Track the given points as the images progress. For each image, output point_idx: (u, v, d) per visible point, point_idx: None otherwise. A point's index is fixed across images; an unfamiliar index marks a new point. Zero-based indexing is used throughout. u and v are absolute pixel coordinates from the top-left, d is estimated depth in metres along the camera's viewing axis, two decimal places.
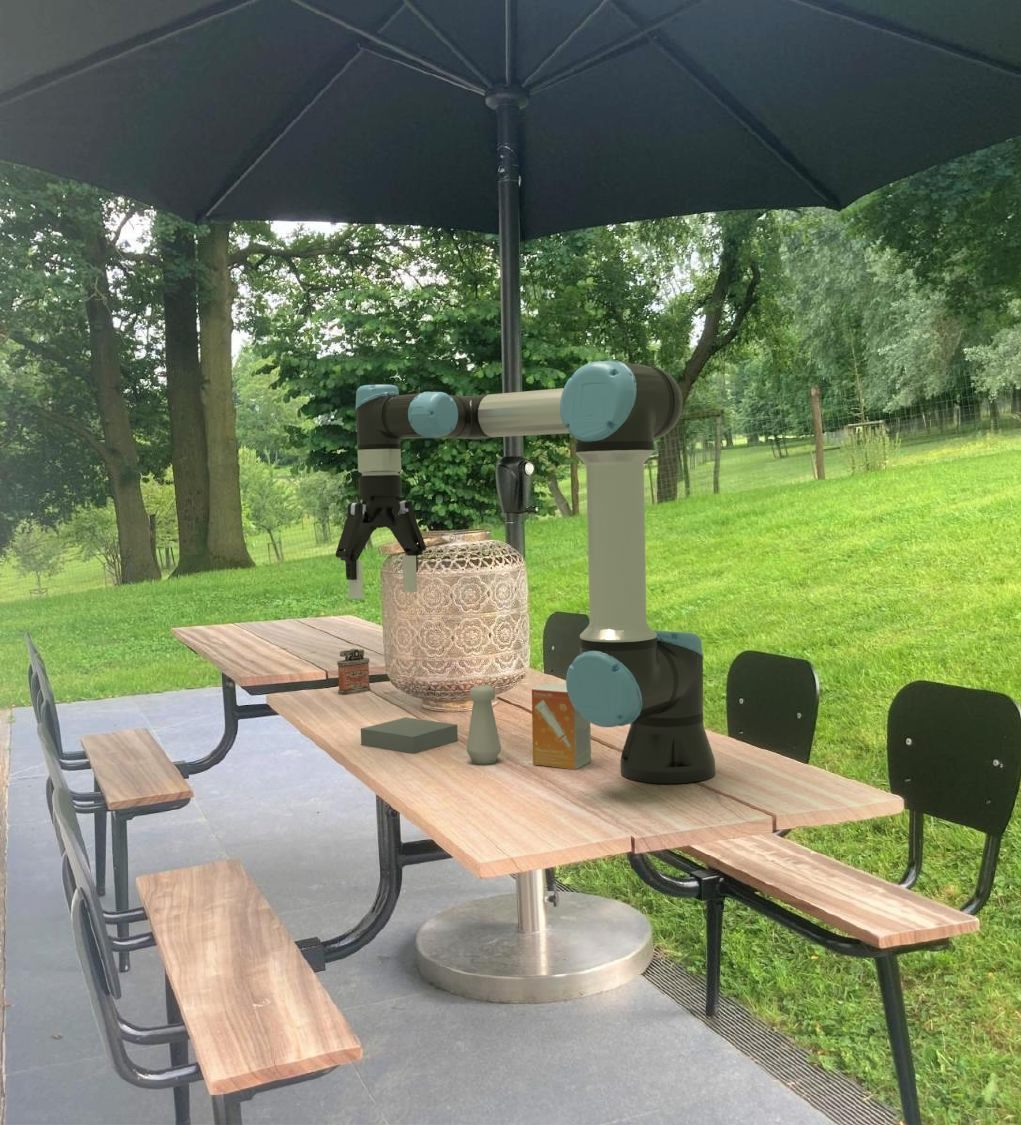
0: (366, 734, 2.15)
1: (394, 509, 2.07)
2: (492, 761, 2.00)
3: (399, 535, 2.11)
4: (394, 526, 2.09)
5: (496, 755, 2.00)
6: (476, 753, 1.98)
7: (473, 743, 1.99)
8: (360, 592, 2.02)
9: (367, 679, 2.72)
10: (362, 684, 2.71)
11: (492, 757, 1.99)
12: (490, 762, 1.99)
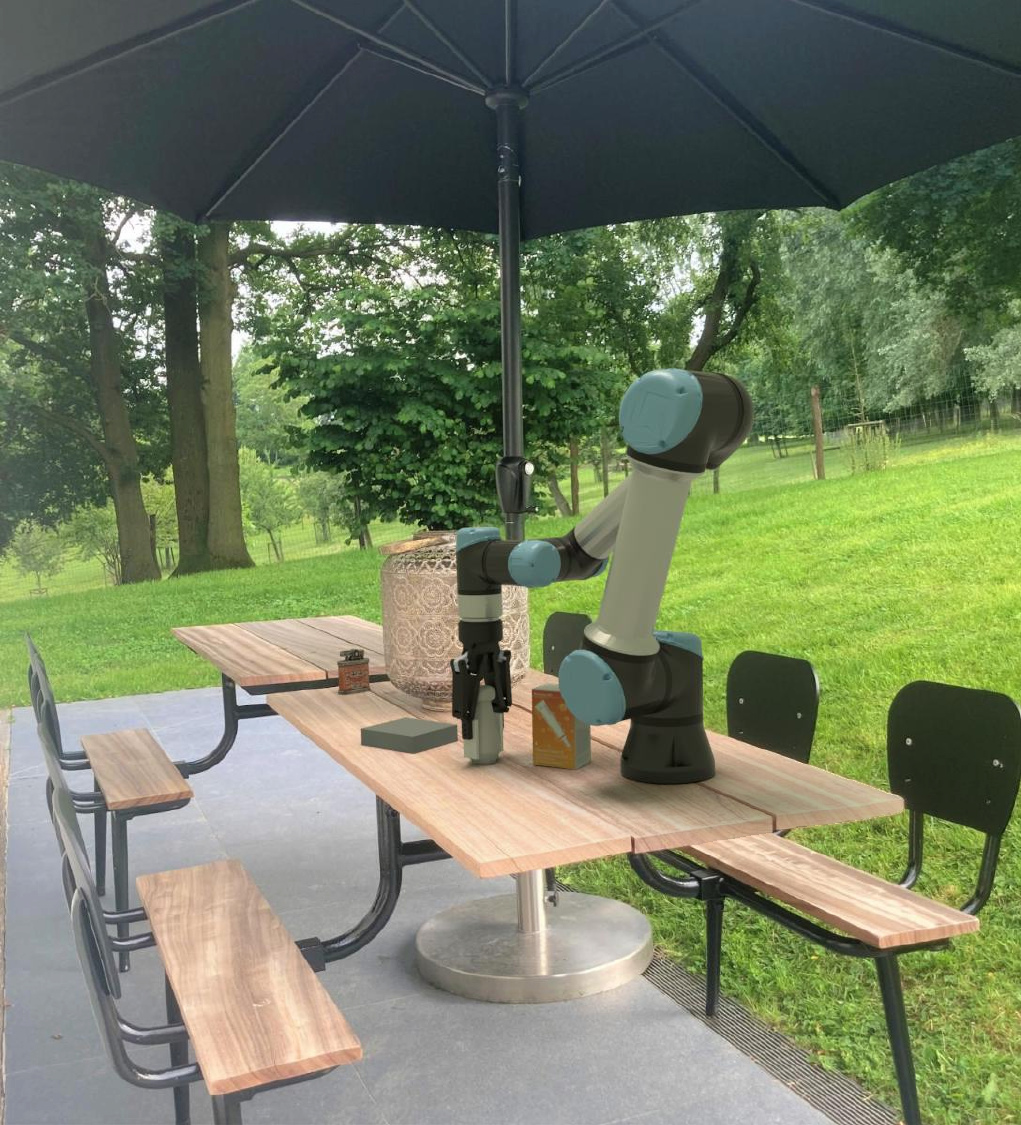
0: (366, 734, 2.15)
1: (495, 655, 2.00)
2: (492, 761, 2.00)
3: None
4: (489, 674, 2.01)
5: (496, 755, 2.00)
6: None
7: None
8: (476, 752, 1.97)
9: (367, 679, 2.72)
10: (362, 684, 2.71)
11: (492, 757, 1.99)
12: (490, 762, 1.99)
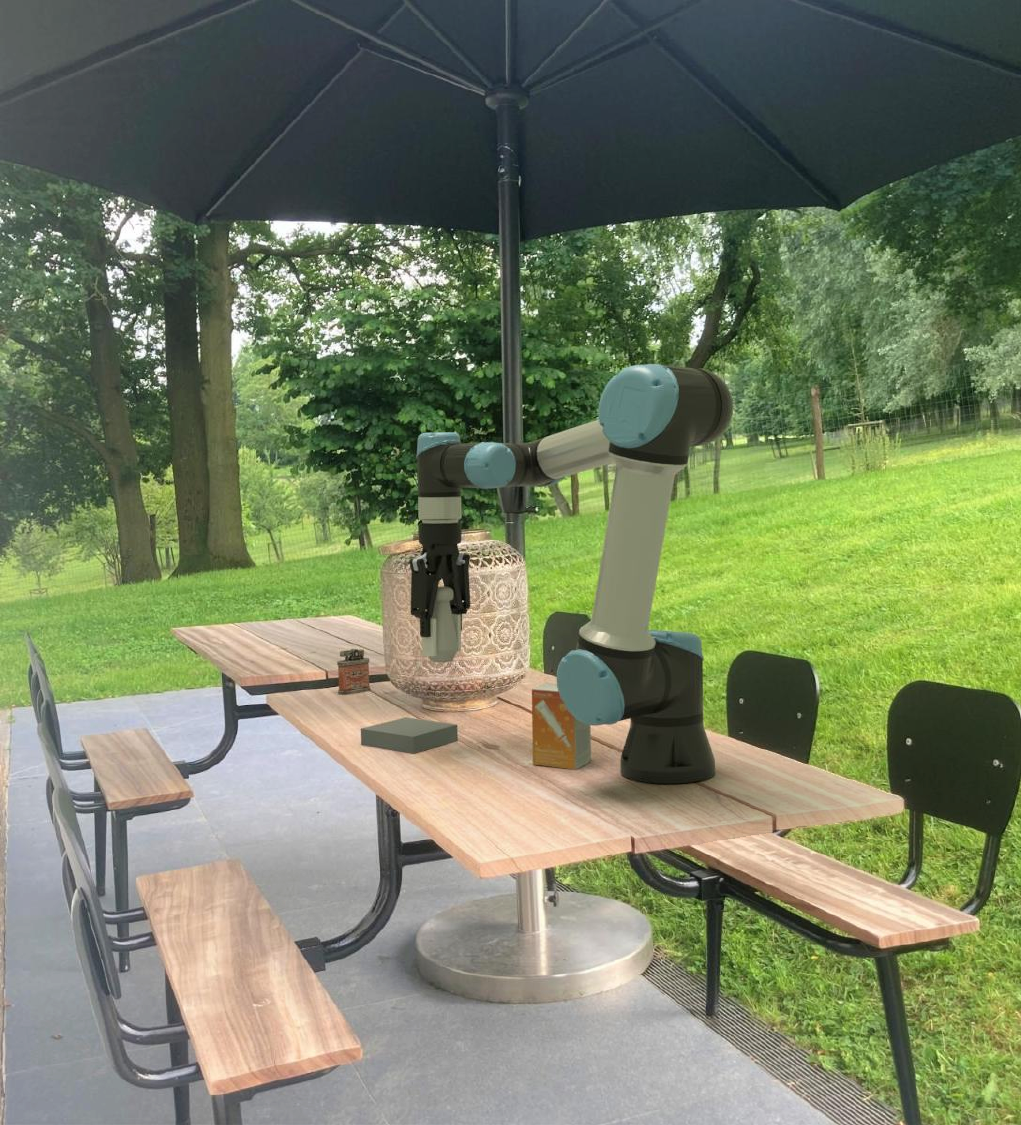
0: (366, 734, 2.15)
1: (454, 557, 2.06)
2: (449, 659, 2.06)
3: (450, 587, 2.09)
4: (448, 576, 2.08)
5: (453, 653, 2.06)
6: None
7: None
8: (433, 649, 2.04)
9: (367, 679, 2.72)
10: (362, 684, 2.71)
11: (449, 655, 2.06)
12: (447, 660, 2.06)
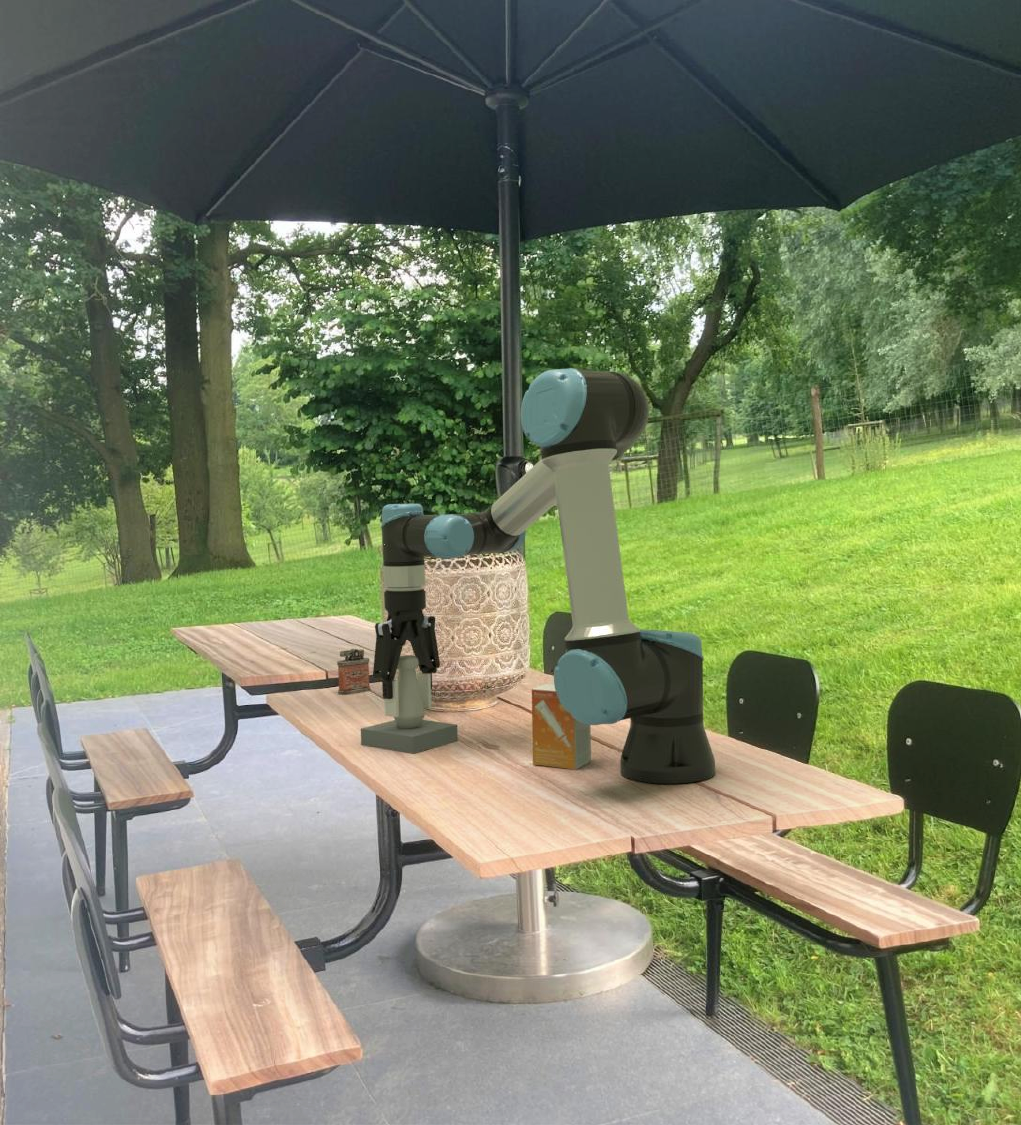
0: (366, 734, 2.15)
1: (419, 622, 2.15)
2: (416, 725, 2.15)
3: (418, 650, 2.18)
4: (415, 639, 2.17)
5: (420, 720, 2.15)
6: (401, 717, 2.14)
7: None
8: (396, 710, 2.12)
9: (367, 679, 2.72)
10: (362, 684, 2.71)
11: (416, 721, 2.15)
12: (414, 726, 2.15)
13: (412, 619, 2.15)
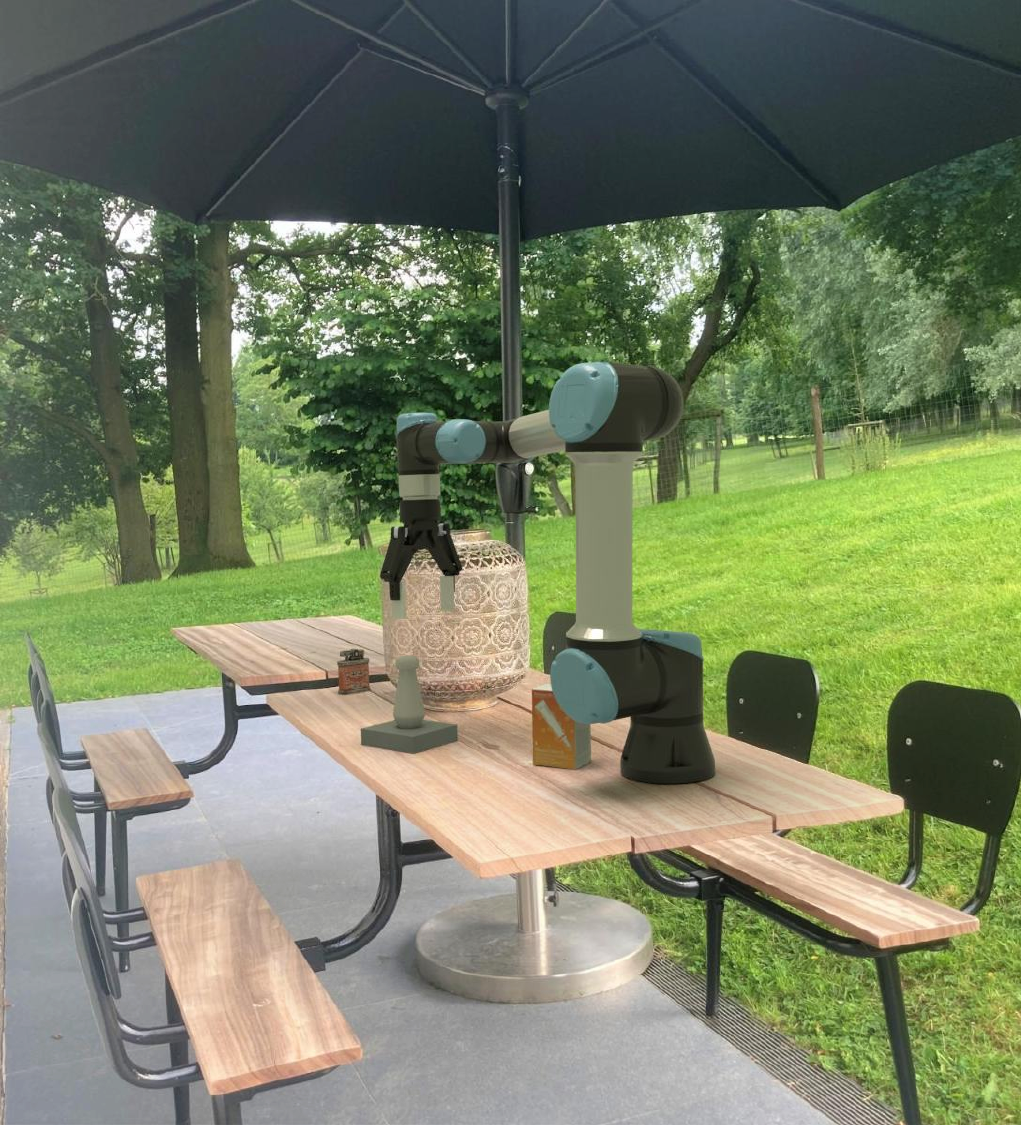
0: (366, 734, 2.15)
1: (434, 532, 2.16)
2: (416, 726, 2.15)
3: (438, 557, 2.19)
4: (433, 548, 2.18)
5: (420, 720, 2.15)
6: (401, 718, 2.14)
7: (398, 709, 2.14)
8: (403, 612, 2.10)
9: (367, 679, 2.72)
10: (362, 684, 2.71)
11: (416, 722, 2.15)
12: (414, 726, 2.15)
13: (428, 533, 2.16)
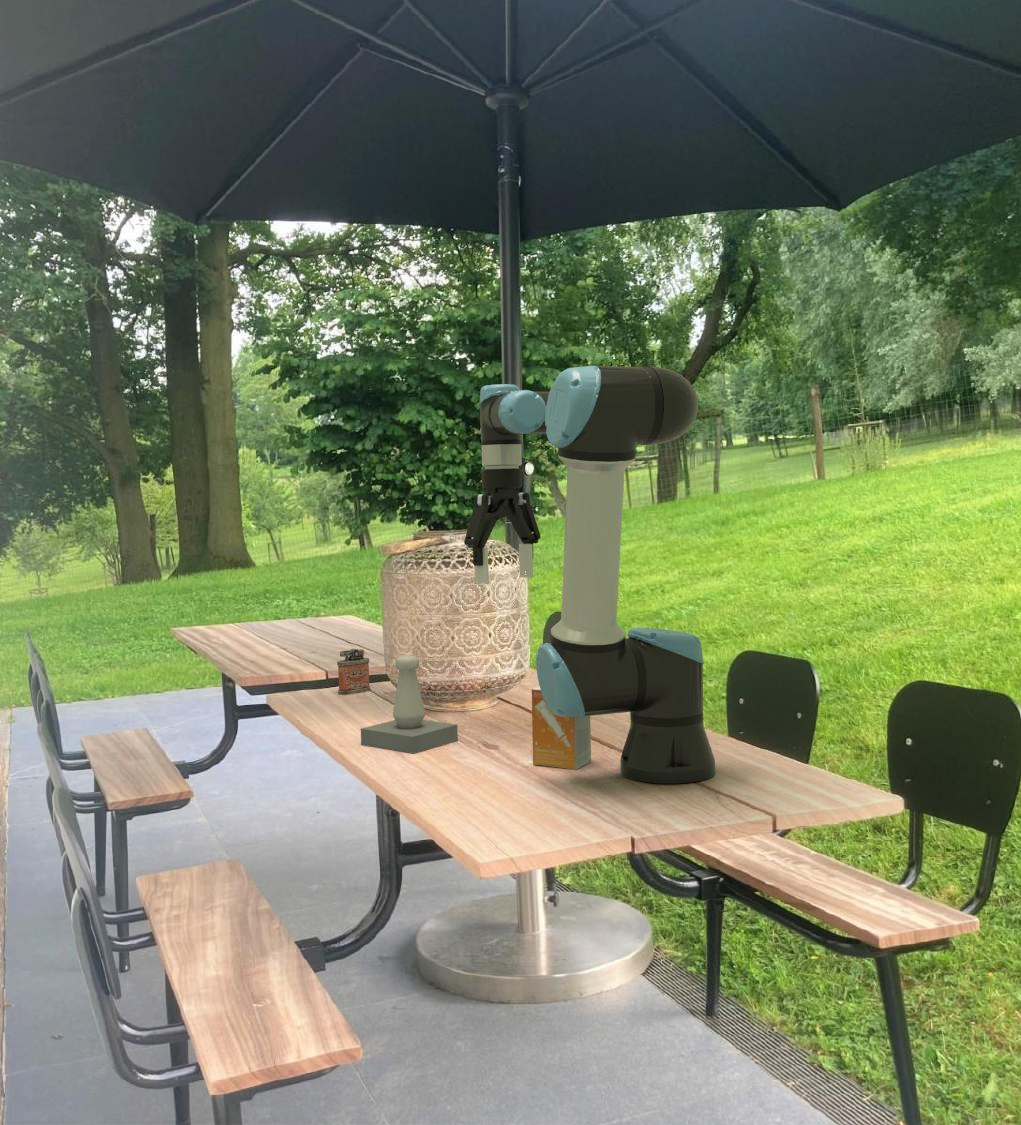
0: (366, 734, 2.15)
1: (515, 500, 2.22)
2: (416, 726, 2.15)
3: (518, 525, 2.26)
4: (513, 516, 2.25)
5: (420, 720, 2.15)
6: (401, 718, 2.14)
7: (398, 709, 2.14)
8: (486, 577, 2.17)
9: (367, 679, 2.72)
10: (362, 684, 2.71)
11: (416, 722, 2.15)
12: (414, 726, 2.15)
13: (509, 501, 2.22)
